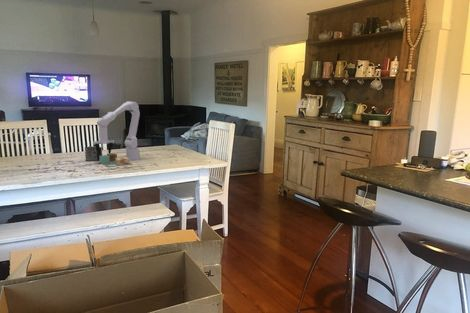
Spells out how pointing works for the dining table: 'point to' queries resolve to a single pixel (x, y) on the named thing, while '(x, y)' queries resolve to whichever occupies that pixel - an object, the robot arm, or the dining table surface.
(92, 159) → the small box
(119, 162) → the oak block
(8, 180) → the dining table surface
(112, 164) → the placemat
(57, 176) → the dining table surface
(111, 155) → the walnut block
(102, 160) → the teal block
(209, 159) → the dining table surface
